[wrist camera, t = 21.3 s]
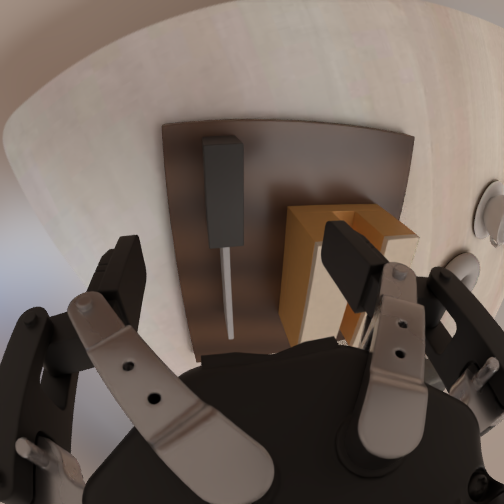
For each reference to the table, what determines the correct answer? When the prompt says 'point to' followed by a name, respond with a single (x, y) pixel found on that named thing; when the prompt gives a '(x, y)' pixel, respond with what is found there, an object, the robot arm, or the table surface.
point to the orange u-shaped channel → (316, 276)
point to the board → (268, 213)
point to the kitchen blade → (224, 205)
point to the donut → (465, 269)
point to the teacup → (491, 215)
